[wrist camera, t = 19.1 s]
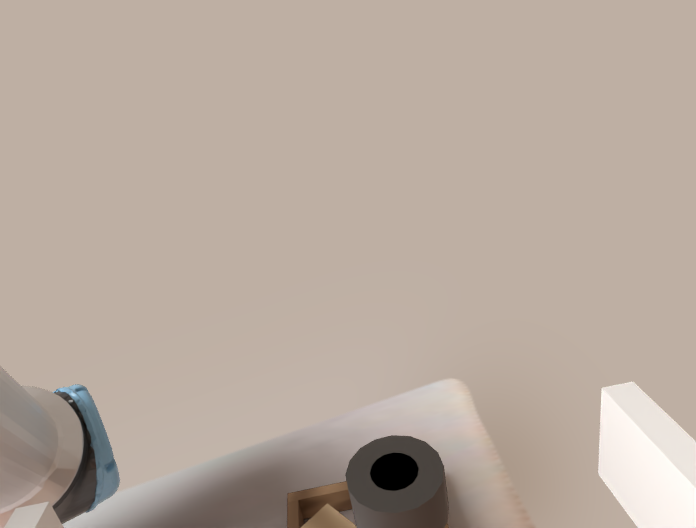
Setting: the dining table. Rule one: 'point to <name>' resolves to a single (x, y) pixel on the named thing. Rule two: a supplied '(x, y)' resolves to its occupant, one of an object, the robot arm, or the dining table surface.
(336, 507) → the walnut caddy
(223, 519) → the dining table surface
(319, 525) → the offcut upper
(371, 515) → the candle holder
